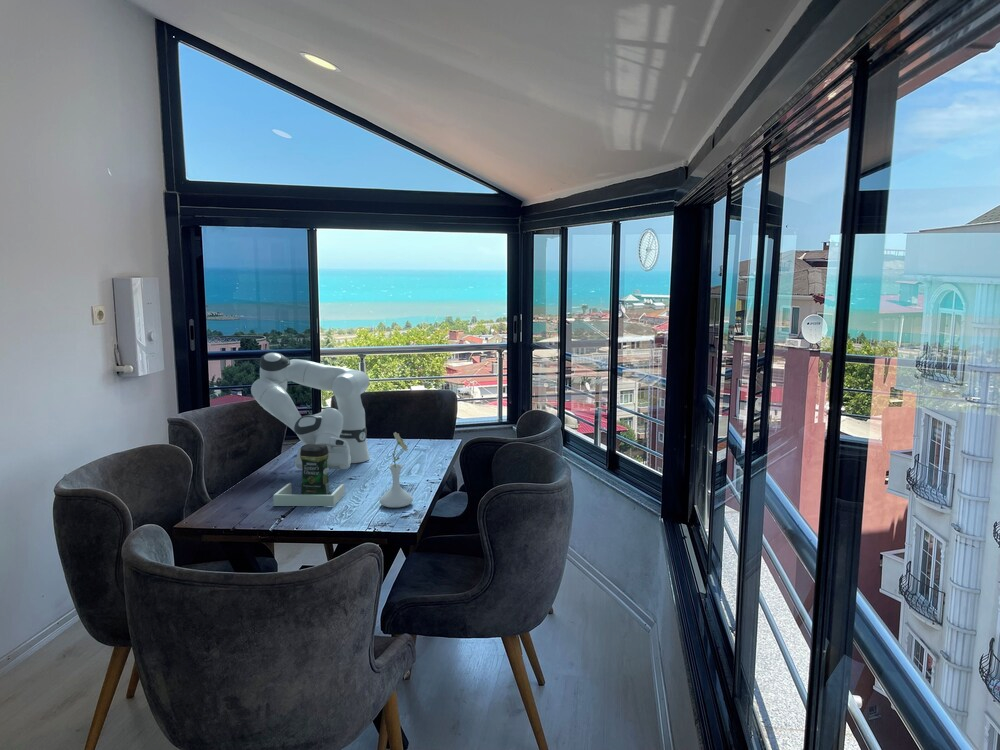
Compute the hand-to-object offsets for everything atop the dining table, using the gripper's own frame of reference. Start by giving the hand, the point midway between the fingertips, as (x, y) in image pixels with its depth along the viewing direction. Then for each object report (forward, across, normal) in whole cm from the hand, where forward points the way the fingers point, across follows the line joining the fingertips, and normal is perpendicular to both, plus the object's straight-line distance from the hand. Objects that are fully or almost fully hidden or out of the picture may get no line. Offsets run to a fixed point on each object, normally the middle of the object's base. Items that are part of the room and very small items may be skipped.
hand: (319, 478), depth 240 cm
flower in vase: (+14, +31, -7) cm, 35 cm away
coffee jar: (+7, 0, 0) cm, 7 cm away
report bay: (+11, 0, -4) cm, 12 cm away
